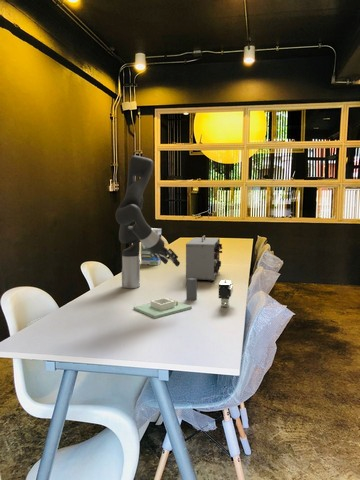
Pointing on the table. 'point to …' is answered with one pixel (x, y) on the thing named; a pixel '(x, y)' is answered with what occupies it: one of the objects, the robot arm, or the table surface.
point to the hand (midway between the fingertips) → (172, 263)
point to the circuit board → (162, 307)
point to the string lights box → (149, 253)
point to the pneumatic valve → (225, 292)
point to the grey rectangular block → (191, 289)
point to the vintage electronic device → (203, 258)
